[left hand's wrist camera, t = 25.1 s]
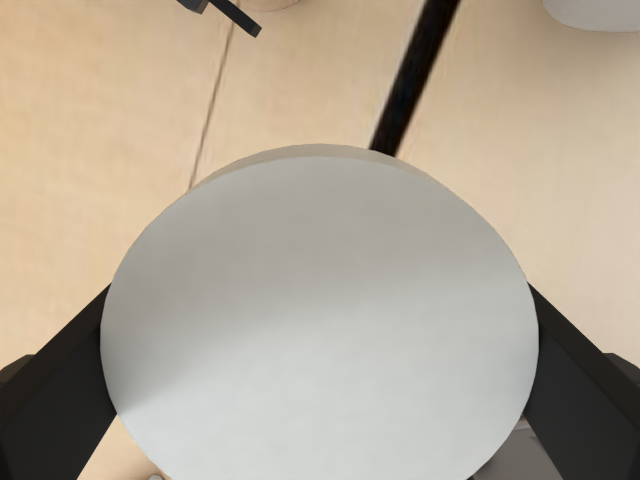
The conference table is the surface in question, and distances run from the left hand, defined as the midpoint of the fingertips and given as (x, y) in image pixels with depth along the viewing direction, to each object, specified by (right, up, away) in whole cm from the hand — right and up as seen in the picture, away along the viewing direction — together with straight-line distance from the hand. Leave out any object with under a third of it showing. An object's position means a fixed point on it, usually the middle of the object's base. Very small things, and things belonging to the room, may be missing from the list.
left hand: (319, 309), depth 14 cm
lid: (0, -1, -3) cm, 3 cm away
